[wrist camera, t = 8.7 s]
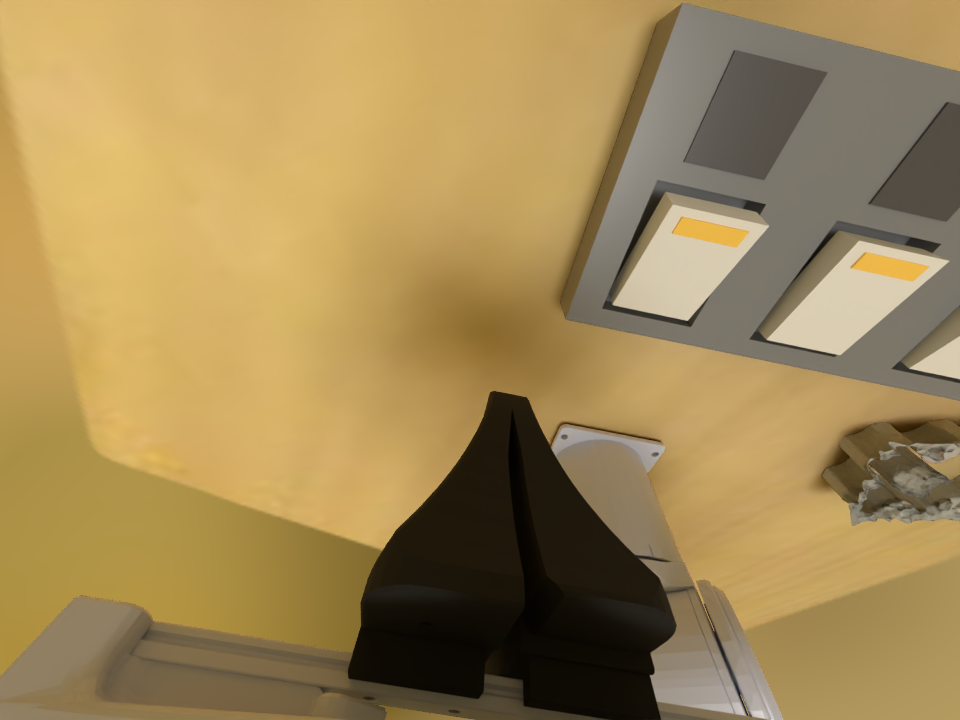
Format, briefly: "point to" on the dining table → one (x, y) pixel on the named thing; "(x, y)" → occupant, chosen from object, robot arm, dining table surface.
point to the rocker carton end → (938, 349)
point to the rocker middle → (847, 292)
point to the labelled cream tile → (684, 255)
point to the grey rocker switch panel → (782, 182)
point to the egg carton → (898, 473)
